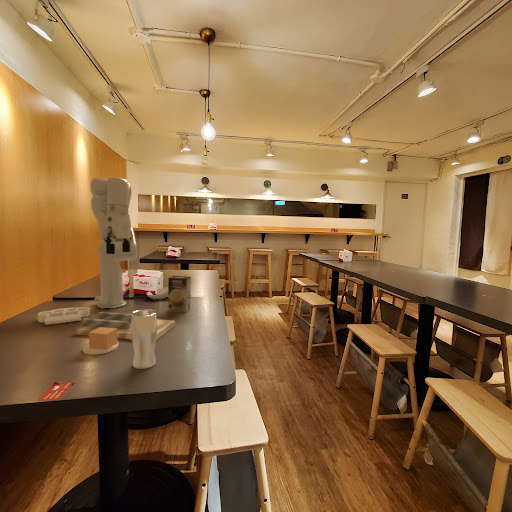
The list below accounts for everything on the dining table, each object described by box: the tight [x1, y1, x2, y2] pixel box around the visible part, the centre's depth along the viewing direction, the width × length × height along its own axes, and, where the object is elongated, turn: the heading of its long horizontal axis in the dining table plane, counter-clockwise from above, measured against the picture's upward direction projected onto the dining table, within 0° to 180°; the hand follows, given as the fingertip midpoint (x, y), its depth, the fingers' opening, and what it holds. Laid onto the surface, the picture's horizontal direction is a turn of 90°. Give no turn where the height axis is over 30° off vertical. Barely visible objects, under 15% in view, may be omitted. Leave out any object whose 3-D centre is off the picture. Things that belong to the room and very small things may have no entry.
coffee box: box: [167, 275, 192, 313], centre depth 128 cm, size 9×6×16 cm
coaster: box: [82, 340, 120, 356], centre depth 87 cm, size 10×10×1 cm
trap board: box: [75, 311, 176, 341], centre depth 102 cm, size 30×16×4 cm, turn 82°
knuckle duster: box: [37, 306, 91, 326], centre depth 113 cm, size 3×18×15 cm
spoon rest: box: [146, 286, 192, 300], centre depth 153 cm, size 24×12×7 cm, turn 117°
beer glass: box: [130, 309, 158, 370], centre depth 76 cm, size 7×7×15 cm
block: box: [88, 327, 118, 350], centre depth 86 cm, size 6×5×5 cm
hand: (118, 252), depth 109 cm, fingers open, 9 cm apart
